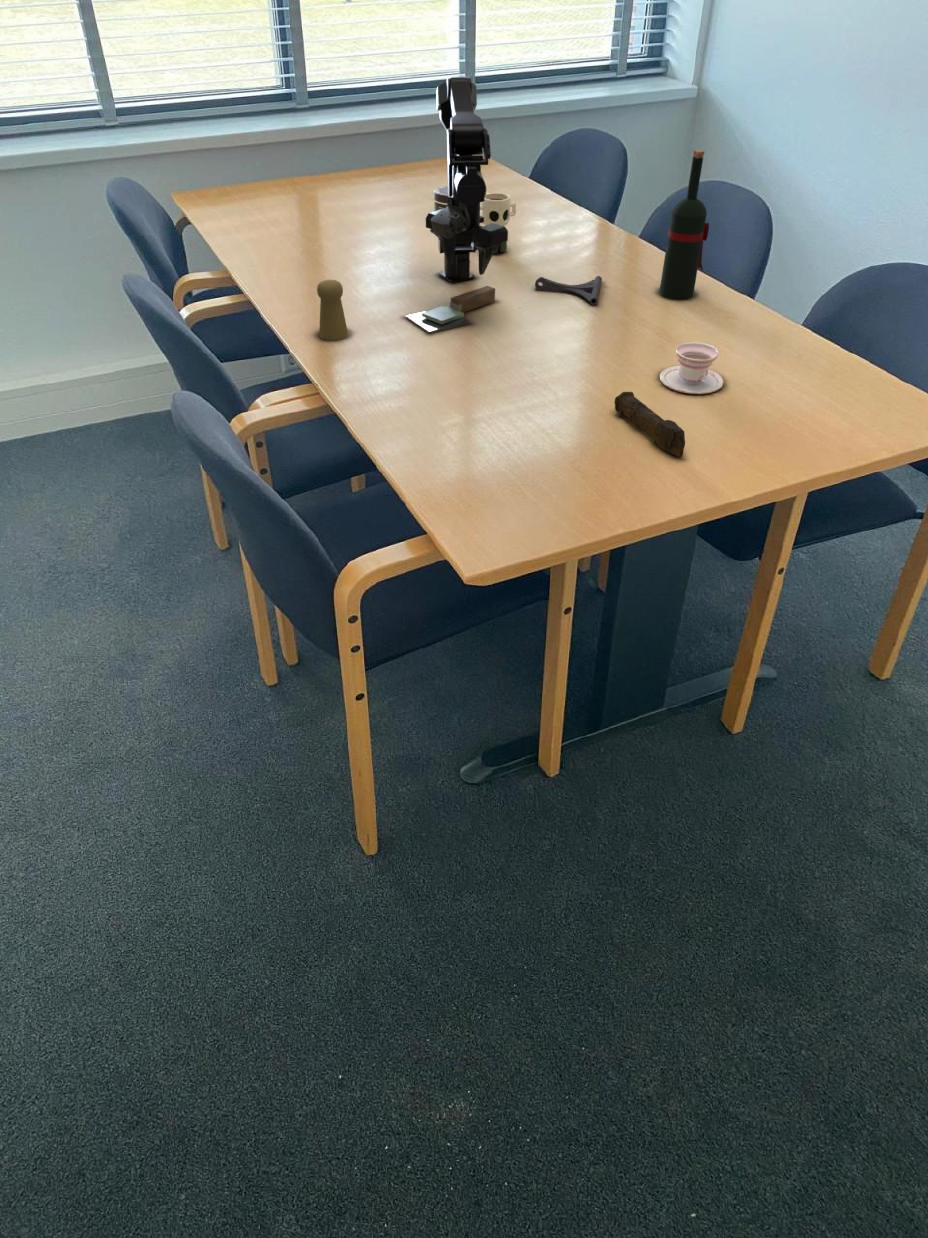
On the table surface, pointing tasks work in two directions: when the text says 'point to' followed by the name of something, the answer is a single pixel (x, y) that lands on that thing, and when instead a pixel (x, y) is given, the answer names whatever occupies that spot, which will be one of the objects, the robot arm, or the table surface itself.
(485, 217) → the character mug
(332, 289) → the olive brown pawn
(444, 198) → the jar
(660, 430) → the dark brown long bar
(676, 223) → the wine bottle
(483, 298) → the spatula
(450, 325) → the plate
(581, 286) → the bracket
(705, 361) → the teacup
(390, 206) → the table surface
